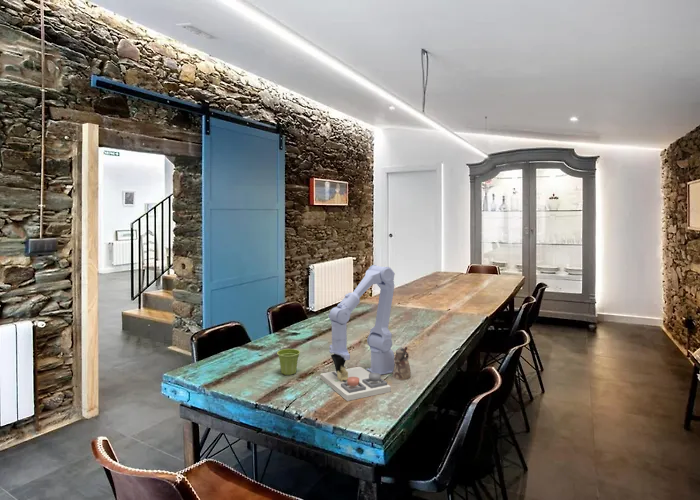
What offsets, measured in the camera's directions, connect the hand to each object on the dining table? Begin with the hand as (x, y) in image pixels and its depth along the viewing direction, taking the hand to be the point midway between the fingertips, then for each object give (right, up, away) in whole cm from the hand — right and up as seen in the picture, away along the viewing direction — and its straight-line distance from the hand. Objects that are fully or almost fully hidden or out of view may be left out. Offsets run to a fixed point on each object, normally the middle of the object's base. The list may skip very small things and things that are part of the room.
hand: (339, 372), depth 168 cm
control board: (+6, -4, -2) cm, 7 cm away
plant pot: (-21, -3, +11) cm, 24 cm away
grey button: (+13, -1, -6) cm, 15 cm away
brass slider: (+1, -2, -3) cm, 3 cm away
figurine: (+25, -4, +6) cm, 26 cm away
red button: (+5, -1, -10) cm, 12 cm away
